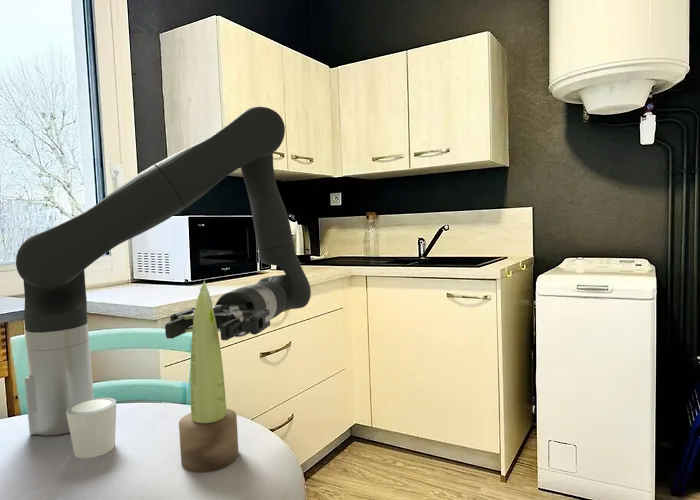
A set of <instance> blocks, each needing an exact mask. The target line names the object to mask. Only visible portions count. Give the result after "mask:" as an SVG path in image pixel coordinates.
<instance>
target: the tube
mask: <svg viewBox="0 0 700 500" xmlns="http://www.w3.org/2000/svg"><path fill="white" fill-rule="evenodd" d="M199 289H200V290H199V293H198V296H197V298H196V303H195V307H194V308H195V312H194V321H193V330H192V332H191V343H190V344H191V345H190V413H191V418H192V420H193V421H194V422H197V423H213V422H217V421H219V420H221V419H223V418H224V417H225V416H226V409H227V403H226V401H227V399H226V389H225V388H226V387H225V378H224V375H225V374H224V369H223V359H222V350H221V349H222V348H221V343H220V338H219V336H220V335H219V332H218V330H217V325H216V320H215V315H214V310H213V306H214V304H213V301H212V298H211V295H210V292H209V290H208V287H207V284H206V280H203V283H202V285H201V287H200V288H199Z"/></svg>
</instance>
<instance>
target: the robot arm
mask: <svg viewBox="0 0 700 500" xmlns="http://www.w3.org/2000/svg"><path fill="white" fill-rule="evenodd" d="M285 127H286V126H285V122H284V120H283V118H282V116H281V115H280V114H279V113H278V112H277V111H275V110H274V109H271V108H269V107H266V106H254V107H250V108H248V109H246V110H244V111H243V112H242V113H241V114H239V115H238V116H237V117H236V118H235V119H233V120H232V121H230V122H229V123H228V124H227V125H226V126H224V127H223V128H221V129H220V130H219V131H217V132H216V133H214V134H212V135H211V136H209V137H208V138H205V139H204V140H203V141H200V142H198V143H195V144H193V145H192V146H189V147H187V148H184V149H183V150H181V151H179V152H176V153H175V154H172V155H170V156H168V157H166V158H165V159H162V160H161V161H159V162H157V163H155V164H153V165H151V166H150V167H148V168H146V169H145V170H143V171H141V172H139V173H137V174H136V175H135V176H133V177H132V178H130V179H129V180H127V181H126V182H124V183H123V184H121V185H119V186H118V187H117V188H116V189H114V190H113V191H111V193H109V194H108V195H106V197H104V198H103V199H102V200H100V201H98V203H96V204H95V205H93V206H92V207H91V208H89V209H87V210H86V211H83V212H82V213H80V214H78V215H77V216H74V217H73V218H70V219H68V220H67V221H64V222H62V223H60V224H58V225H55V226H53V227H51V228H49V229H46V230H44V231H41V232H38V233H35V234H33V235H31V236H29V237H28V238H27V239H26V240H25V241H23V243H22V244H21V245H20V247H19V248H18V250H17V253H16V256H15V257H16V258H15V267H16V271H17V273H18V275H19V276H20V278H21V279H22V280H23V292H24V310H23V321H24V322H23V323H24V330H25V331H24V334H25V335H24V336H25V342H26V343H25V345H26V355H27V367H28V375H27V376H26V377H25V378H24V385H25V387H24V388H25V397H26V407H27V408H26V409H27V420H28V429H29V436H30V435H32V436H33V435H40V436H57V435H65V434H68V433H69V434H70V430H69V424H68V419H67V414H66V410H67V408H68V407H70V406H71V405H73V404H75V403H78V402H81V401H84V400H88V399H94V398H95V397H94V385H93V373H92V361H91V360H92V359H91V349H90V348H91V347H90V336H89V335H90V334H89V325H88V324H89V323H88V305H87V304H88V303H87V302H88V301H87V300H88V299H87V290H86V274H85V270H86V269H87V268H88V267H89V266H90V265H92V264H93V263H94V262H96V261H97V260H98V259H100V258H102V256H104V255H105V254H107V253H108V252H110V251H111V250H112V249H114V248H116V247H117V246H120V245H121V244H122V243H124V242H126V241H128V240H130V239H133V238H135V237H137V236H139V235H141V234H144V233H145V232H147V231H149V230H152V229H153V228H155V227H157V226H158V225H160V224H162V223H164V222H166V221H167V220H169V219H170V218H172V217H173V216H175V215H177V214H179V213H180V212H181V211H183V210H185V209H186V208H188V207H189V206H191V205H192V204H194V203H196V202H197V200H199V199H200V198H202V197H203V196H205V194H207V193H208V192H210V190H212V189H213V188H215V186H216V185H218V184H219V183H220V182H221V181H222V180H223V179H225V178H226V177H228V176H229V175H230V174H232V173H233V172H235V171H237V170H238V169H240V171H241V173H242V177H243V181H244V184H245V187H246V192H247V197H248V200H249V204H250V210H251V216H252V221H253V222H252V223H253V228H254V233H255V239H256V244H257V249H258V255H259V258H260V261H261V263H262V264H265V265H269V266H277V267H279V268H280V269H281V270H282V271H283V273H284V274H279V275H273V276H266V277H263V278H261V279H259V280H258V281H257V283H255V284H249V285H248V284H247V285H244V286H242V287H239V288H238V287H237V288H236V289H234V290H230V291H227V292H225V293H223V294H222V295H221V296H220V297H219V298H218V300H217V301H216V304H215V305H213V310H214V315H215V320H216V325H217V330H218V333H219V332H220V341H229V340H230V339H232V338H241V337H244V336H247V335H249V334H250V335H257V334H260V333H262V332H263V331H265V330H266V329H267V328H269V327H270V326H271V320H273V319H274V318H276V317H278V316H279V315H280V314H281V313H282V312H283V311H287V310H288V311H289V310H296V309H302V308H305V307H306V306H307V305H308V304H309V302H310V299H311V297H312V296H311V295H312V293H311V292H312V289H311V285H310V283H309V279H308V277H307V275H306V273H305V272H304V270H303V267H302V265H301V263H300V260H299V258H298V255H297V253H296V250H295V245H294V240H293V233H292V232H293V231H292V229H291V224H290V219H289V215H288V212H287V209H286V206H285V204H284V201H283V199H282V196H281V194H280V191H279V188H278V185H277V181H276V175H275V170H274V153H275V152H277V150H278V149H279V148H280V147H281V145H282V143H283V141H284V138H285V134H286V128H285ZM194 312H195V307H191V308H188V309H186V310H183V311H178V312H176V313H173V314H171V315H169V318H170V321H169V322H167V323H166V324H165V325H164V330H165V337H166V338H167V339H175V338H177V337H179V336H181V335H185V334H186V333H192V330H193V321H194Z"/></svg>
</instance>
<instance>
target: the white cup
mask: <svg viewBox="0 0 700 500" xmlns="http://www.w3.org/2000/svg"><path fill="white" fill-rule="evenodd" d="M66 414H67V419H68V424H69V430H70V432H69V435H70V438H71V439H70V440H71V445H72V451H73V455H74V456H75V457H76V458H78V459H92V458H97V457H100V456H103V455H106V454H108V453H110V452H111V451H113V450H114V449H115V447H116V429H117V428H116V425H117V424H116V422H117V421H116V419H117V418H116V417H117V400H116V399H114V398H112V397H96V398H95V397H94V399H88V400H84V401H81V402H78V403H75V404H73V405H71V406H70V407H68V408H67V410H66Z"/></svg>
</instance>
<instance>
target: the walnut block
mask: <svg viewBox="0 0 700 500" xmlns="http://www.w3.org/2000/svg"><path fill="white" fill-rule="evenodd" d="M237 418H238V417H237V413H236V412H235V411H234V410H232V409H231V408H226V416H225V417H224V418H223V419H221V420H219V421H217V422H213V423H197V422H194V421H193V420H192V418H191V412H189V413H188V414H186V415H184V416H182V417H181V418H180V419H179V422H178V428H179V429H178V431H179V434H178V436H179V449H180V460H181V461H180V462H181V463H180V464H181V467H182V468H183V469H184V470H185V471H188V472H192V473H197V474H200V473H201V474H204V473H212V472H216V471H220V470H223V469H226V468H229V466H231V465H233V464H234V463H235V462H236V461H237V460H238V458H239V455H240V452H239V439H238V438H239V437H238V436H239V435H238V434H239V433H238V420H237Z"/></svg>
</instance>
